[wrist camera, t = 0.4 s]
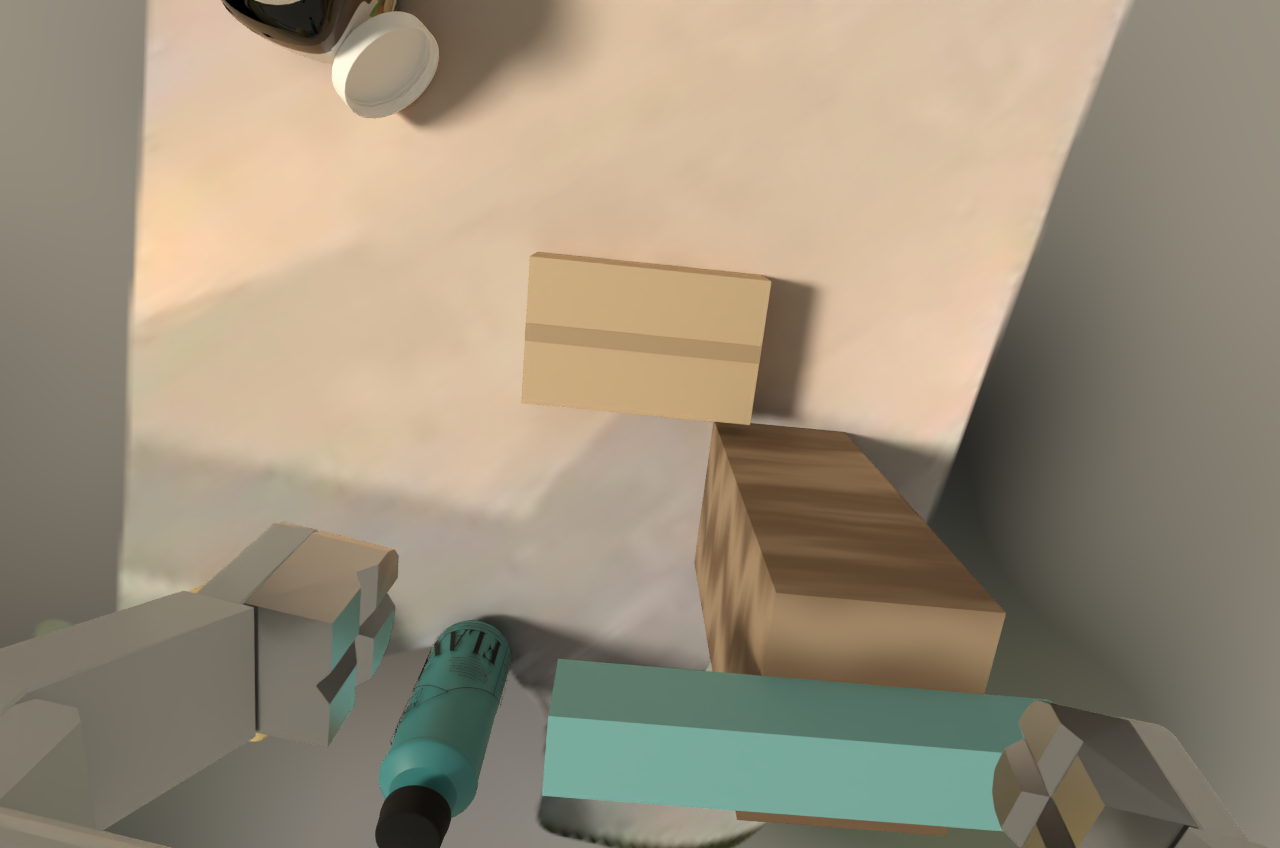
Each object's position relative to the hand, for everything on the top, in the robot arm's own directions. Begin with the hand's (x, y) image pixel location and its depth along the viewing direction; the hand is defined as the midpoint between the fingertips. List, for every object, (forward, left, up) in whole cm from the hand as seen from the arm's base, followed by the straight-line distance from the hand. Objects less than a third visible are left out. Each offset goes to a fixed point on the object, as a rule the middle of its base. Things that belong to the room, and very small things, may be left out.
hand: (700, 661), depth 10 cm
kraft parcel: (+4, 0, -46) cm, 46 cm away
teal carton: (+16, +8, -20) cm, 27 cm away
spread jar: (-15, -20, -47) cm, 53 cm away
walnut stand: (+16, +11, -46) cm, 50 cm away
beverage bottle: (+31, -11, -47) cm, 57 cm away
